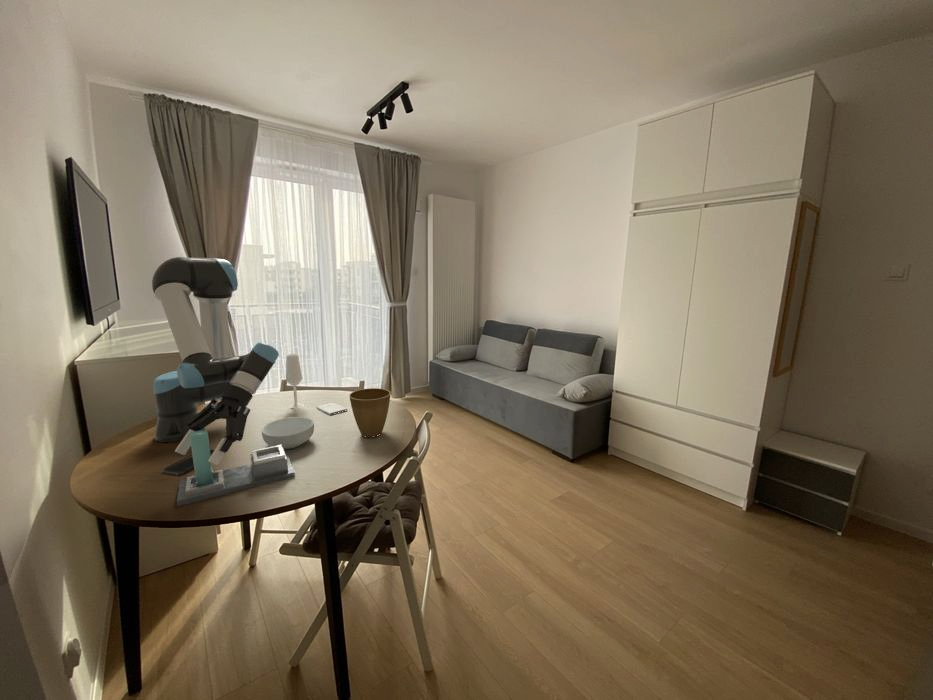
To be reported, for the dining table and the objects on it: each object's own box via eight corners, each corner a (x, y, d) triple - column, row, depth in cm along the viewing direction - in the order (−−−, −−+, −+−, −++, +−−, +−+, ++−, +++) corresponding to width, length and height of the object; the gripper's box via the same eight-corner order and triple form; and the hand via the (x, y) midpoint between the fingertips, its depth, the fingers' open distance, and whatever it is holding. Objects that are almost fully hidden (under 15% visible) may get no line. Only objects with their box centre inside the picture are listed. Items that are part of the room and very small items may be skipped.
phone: (160, 470, 114) (203, 448, 128) (161, 473, 114) (204, 451, 128) (182, 473, 112) (223, 450, 127) (182, 476, 112) (224, 453, 127)
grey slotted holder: (177, 506, 98) (173, 482, 96) (181, 484, 108) (177, 463, 106) (294, 476, 113) (293, 455, 111) (288, 460, 122) (286, 440, 121)
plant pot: (399, 434, 144) (398, 393, 141) (364, 446, 133) (362, 402, 130) (378, 423, 154) (376, 385, 151) (344, 433, 144) (341, 392, 141)
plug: (193, 485, 104) (186, 434, 101) (207, 478, 108) (201, 429, 105) (203, 488, 103) (195, 437, 100) (217, 481, 107) (210, 431, 104)
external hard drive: (329, 416, 162) (316, 409, 170) (347, 412, 167) (333, 405, 176) (329, 413, 161) (316, 406, 170) (347, 408, 167) (333, 401, 175)
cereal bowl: (269, 436, 140) (268, 418, 139) (317, 432, 144) (316, 415, 143) (257, 457, 124) (255, 437, 123) (311, 452, 128) (310, 432, 127)
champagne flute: (301, 403, 176) (297, 352, 172) (306, 406, 171) (302, 355, 167) (286, 406, 172) (281, 354, 167) (290, 410, 167) (286, 357, 162)
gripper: (280, 401, 111) (238, 472, 101) (222, 390, 120) (177, 453, 110) (262, 389, 105) (216, 462, 95) (203, 378, 115) (154, 444, 104)
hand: (195, 458), depth 102 cm, fingers open, 13 cm apart
